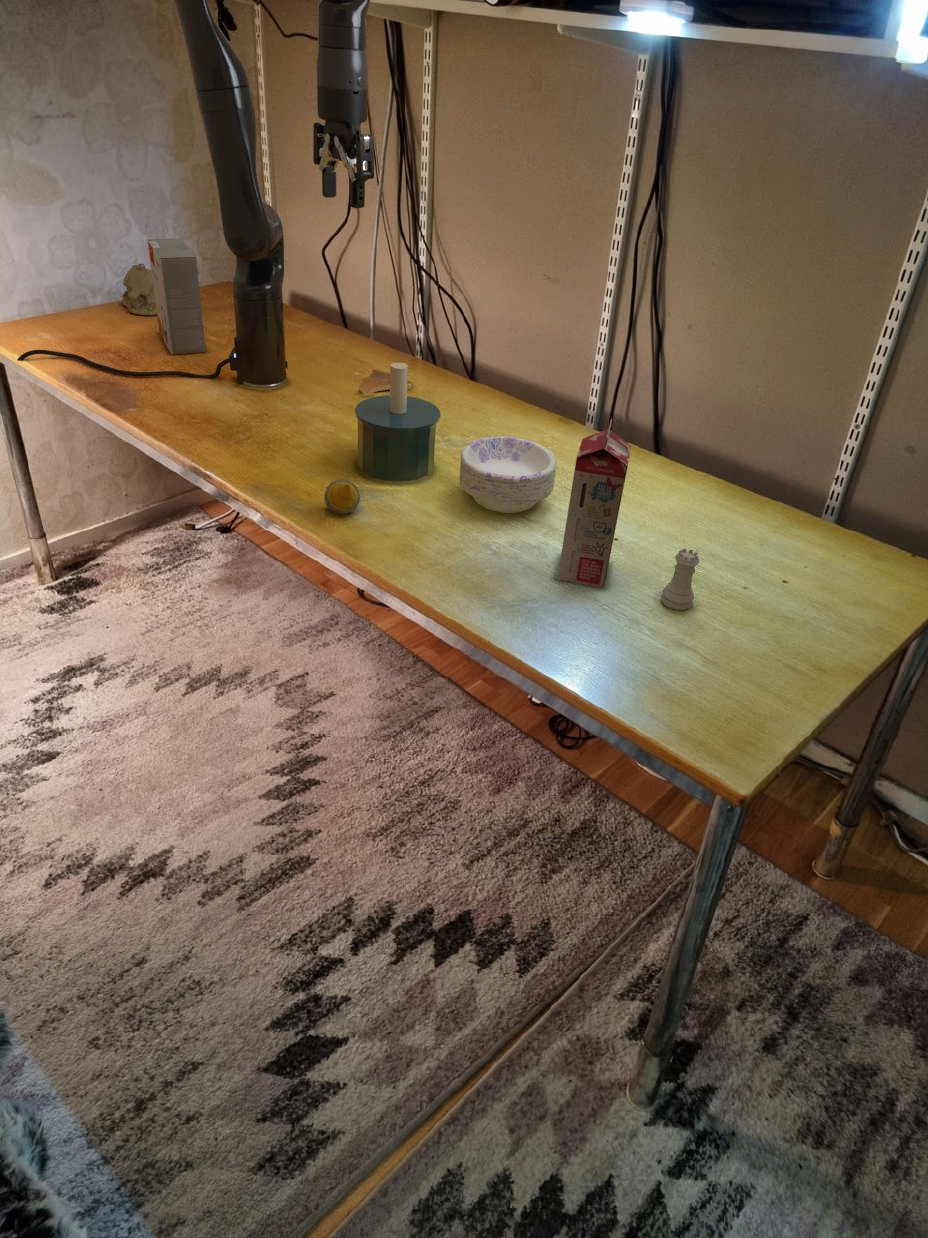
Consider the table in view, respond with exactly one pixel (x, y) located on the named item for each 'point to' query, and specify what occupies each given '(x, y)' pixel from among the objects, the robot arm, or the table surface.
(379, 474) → the pot
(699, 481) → the table surface
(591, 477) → the juice carton
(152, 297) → the ceramic model
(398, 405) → the lid
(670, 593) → the rook chess piece
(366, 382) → the pottery shard
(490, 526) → the table surface
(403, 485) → the table surface
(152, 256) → the hard drive box
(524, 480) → the paper bowls
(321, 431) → the table surface
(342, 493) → the drill bit
